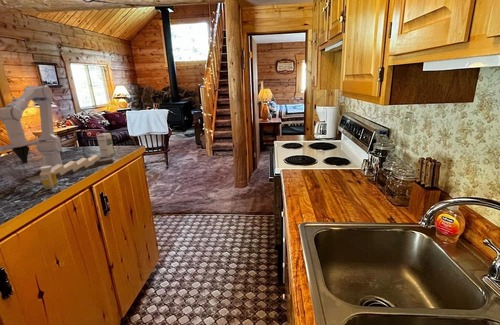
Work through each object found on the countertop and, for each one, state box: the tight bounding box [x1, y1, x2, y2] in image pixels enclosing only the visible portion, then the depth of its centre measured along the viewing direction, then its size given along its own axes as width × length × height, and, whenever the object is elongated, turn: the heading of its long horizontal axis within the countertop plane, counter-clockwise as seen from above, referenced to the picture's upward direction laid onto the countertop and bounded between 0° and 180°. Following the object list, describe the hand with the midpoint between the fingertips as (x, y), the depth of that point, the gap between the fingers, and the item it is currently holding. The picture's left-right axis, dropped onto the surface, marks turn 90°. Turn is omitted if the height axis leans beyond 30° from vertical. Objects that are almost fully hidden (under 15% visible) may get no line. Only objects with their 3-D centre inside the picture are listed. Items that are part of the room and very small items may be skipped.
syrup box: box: [96, 132, 116, 158], centre depth 165 cm, size 6×6×14 cm
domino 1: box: [51, 164, 65, 174], centre depth 132 cm, size 2×5×9 cm
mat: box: [25, 163, 96, 184], centre depth 140 cm, size 12×33×1 cm, turn 147°
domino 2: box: [57, 160, 78, 176], centre depth 137 cm, size 2×5×9 cm
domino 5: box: [94, 156, 114, 167], centre depth 150 cm, size 2×5×9 cm
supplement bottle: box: [39, 165, 59, 190], centre depth 118 cm, size 5×5×10 cm
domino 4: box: [82, 154, 101, 169], centre depth 146 cm, size 2×5×9 cm
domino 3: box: [70, 157, 89, 173], centre depth 141 cm, size 2×5×9 cm
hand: (24, 162), depth 124 cm, fingers closed
